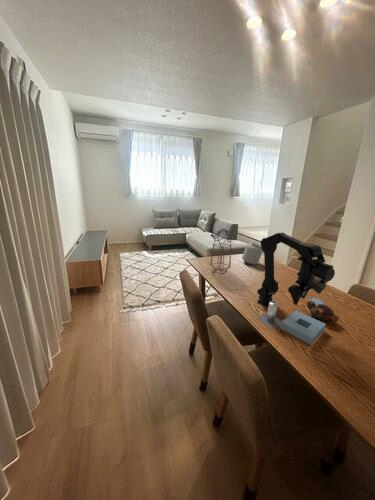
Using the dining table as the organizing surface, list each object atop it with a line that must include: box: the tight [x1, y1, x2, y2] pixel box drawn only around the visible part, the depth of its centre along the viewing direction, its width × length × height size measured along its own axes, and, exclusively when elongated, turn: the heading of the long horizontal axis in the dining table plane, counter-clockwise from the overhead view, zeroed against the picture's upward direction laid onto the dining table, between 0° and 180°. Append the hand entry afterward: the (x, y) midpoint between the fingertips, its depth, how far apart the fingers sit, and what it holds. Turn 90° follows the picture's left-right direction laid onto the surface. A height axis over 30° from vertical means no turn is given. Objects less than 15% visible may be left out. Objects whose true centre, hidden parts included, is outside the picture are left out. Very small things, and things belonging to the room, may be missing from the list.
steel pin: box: [266, 300, 279, 323], centre depth 103 cm, size 4×4×10 cm
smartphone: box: [308, 297, 327, 306], centre depth 120 cm, size 7×1×15 cm
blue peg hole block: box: [279, 310, 327, 346], centre depth 98 cm, size 14×16×4 cm
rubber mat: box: [256, 312, 283, 330], centre depth 104 cm, size 10×10×1 cm
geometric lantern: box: [209, 228, 237, 274], centre depth 161 cm, size 16×16×35 cm
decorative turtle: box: [306, 300, 340, 323], centre depth 107 cm, size 10×15×8 cm, turn 51°
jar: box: [241, 241, 264, 266], centre depth 182 cm, size 19×15×25 cm
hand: (299, 301), depth 98 cm, fingers open, 9 cm apart
